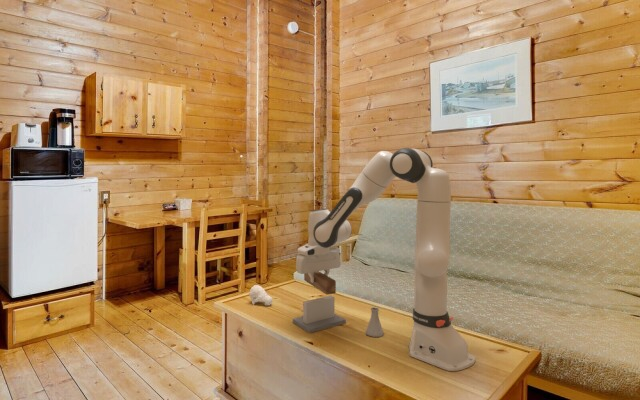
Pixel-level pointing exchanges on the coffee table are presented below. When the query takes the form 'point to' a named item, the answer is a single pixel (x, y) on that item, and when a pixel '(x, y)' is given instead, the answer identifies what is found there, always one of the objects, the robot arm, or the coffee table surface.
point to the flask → (374, 324)
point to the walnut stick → (322, 282)
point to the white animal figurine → (259, 295)
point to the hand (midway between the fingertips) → (318, 281)
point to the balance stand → (318, 315)
